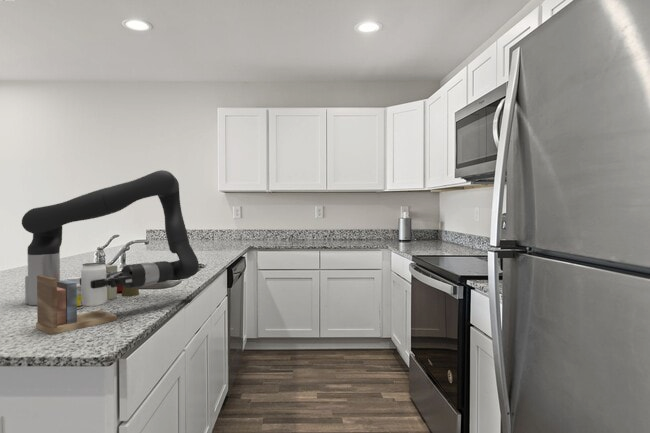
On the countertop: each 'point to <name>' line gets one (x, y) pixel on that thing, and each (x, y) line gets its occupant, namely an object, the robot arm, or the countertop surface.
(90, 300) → the can
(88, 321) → the wooden bookend
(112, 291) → the skincare box
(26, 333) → the countertop surface
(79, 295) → the supplement bottle
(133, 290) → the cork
